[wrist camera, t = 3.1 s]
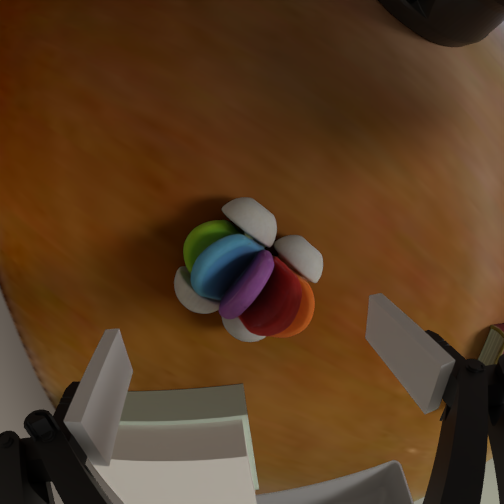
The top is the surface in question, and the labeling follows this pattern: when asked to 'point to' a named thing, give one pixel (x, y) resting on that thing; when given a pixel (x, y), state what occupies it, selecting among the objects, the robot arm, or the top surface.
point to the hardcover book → (493, 345)
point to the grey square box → (183, 448)
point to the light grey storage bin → (350, 489)
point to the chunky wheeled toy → (249, 274)
